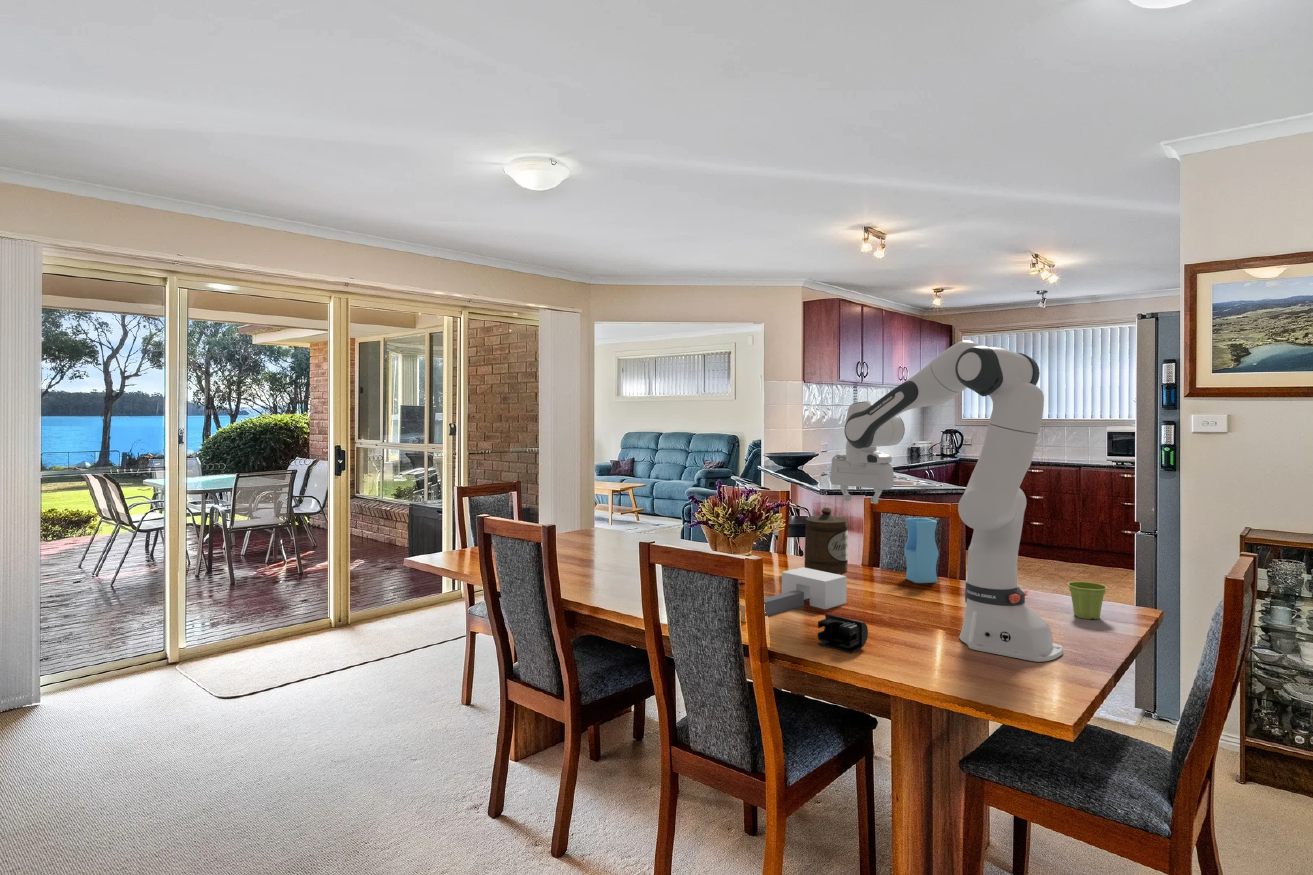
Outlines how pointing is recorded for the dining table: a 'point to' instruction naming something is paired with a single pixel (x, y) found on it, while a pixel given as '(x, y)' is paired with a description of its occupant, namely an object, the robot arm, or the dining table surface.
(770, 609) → the square rod
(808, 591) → the block
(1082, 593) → the plant pot
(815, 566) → the wooden container
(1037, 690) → the dining table surface
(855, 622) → the end cap
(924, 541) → the vase
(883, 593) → the dining table surface
